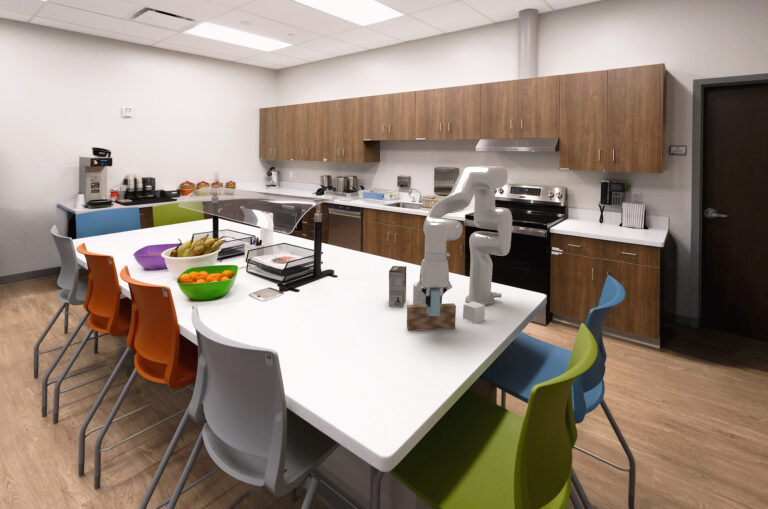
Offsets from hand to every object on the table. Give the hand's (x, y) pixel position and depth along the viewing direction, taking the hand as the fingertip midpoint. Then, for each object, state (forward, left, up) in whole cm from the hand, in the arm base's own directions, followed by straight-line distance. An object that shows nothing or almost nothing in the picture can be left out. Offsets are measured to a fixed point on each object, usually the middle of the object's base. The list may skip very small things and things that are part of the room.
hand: (433, 305), depth 161 cm
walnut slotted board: (0, -4, -11) cm, 11 cm away
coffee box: (+9, -33, -11) cm, 36 cm away
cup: (0, -21, -11) cm, 24 cm away
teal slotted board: (0, -4, -3) cm, 5 cm away
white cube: (-19, -12, -11) cm, 25 cm away
